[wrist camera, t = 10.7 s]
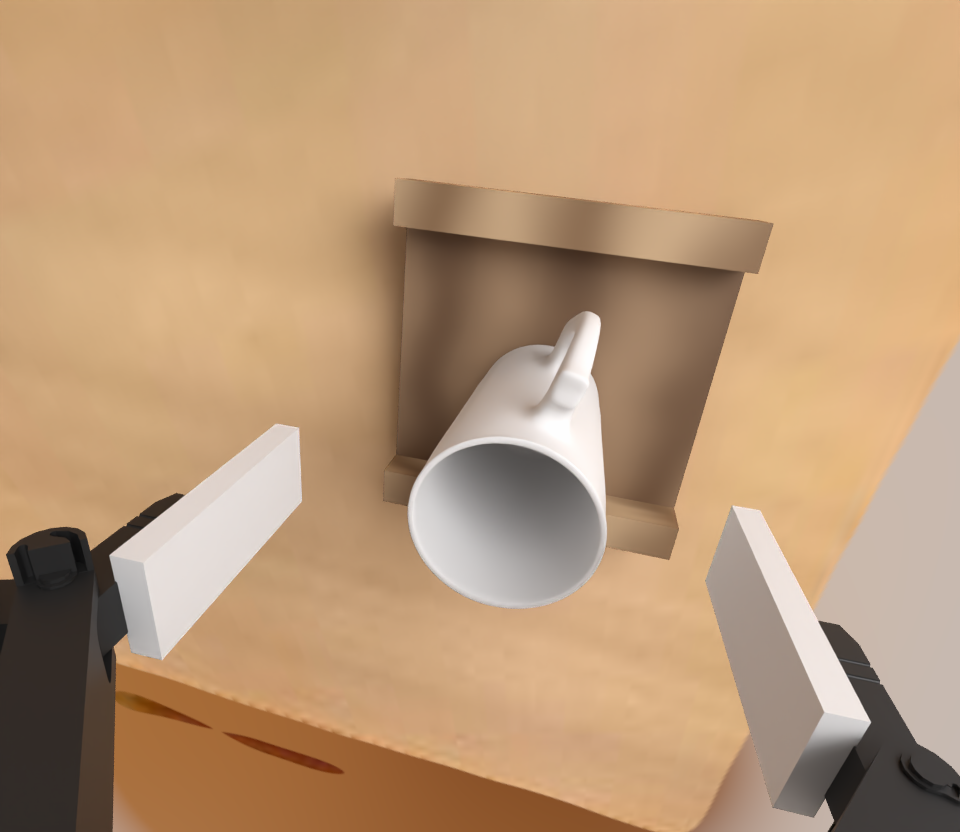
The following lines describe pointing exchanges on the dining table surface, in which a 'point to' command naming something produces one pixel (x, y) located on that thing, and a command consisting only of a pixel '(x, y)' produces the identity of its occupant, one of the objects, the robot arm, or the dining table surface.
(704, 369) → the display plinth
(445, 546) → the mug
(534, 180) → the dining table surface
